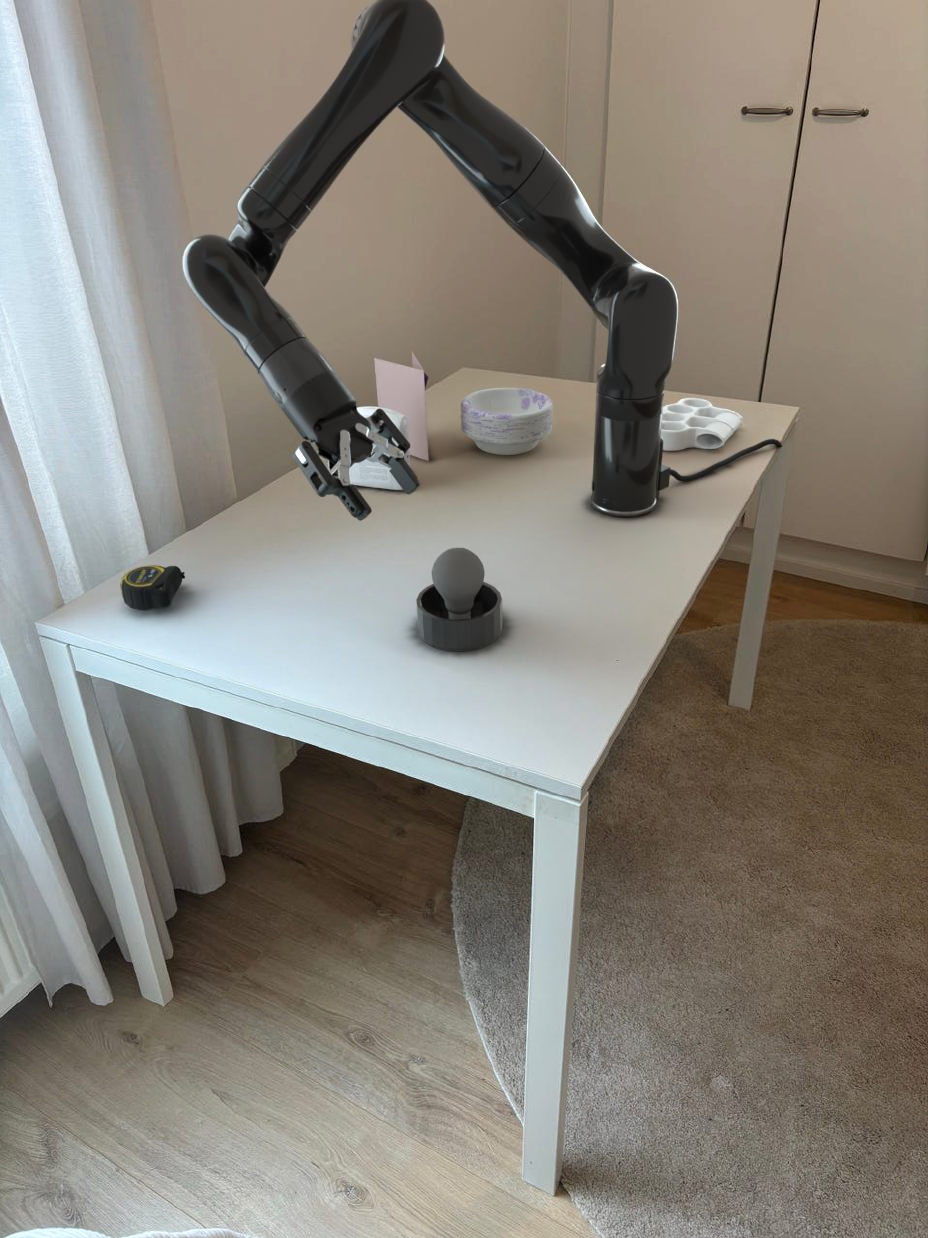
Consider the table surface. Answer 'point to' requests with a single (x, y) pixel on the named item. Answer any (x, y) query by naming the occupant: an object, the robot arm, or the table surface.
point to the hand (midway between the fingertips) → (391, 503)
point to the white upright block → (374, 471)
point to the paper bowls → (506, 419)
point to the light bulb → (458, 580)
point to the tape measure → (151, 586)
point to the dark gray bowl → (459, 632)
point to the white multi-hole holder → (697, 425)
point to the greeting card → (405, 399)
